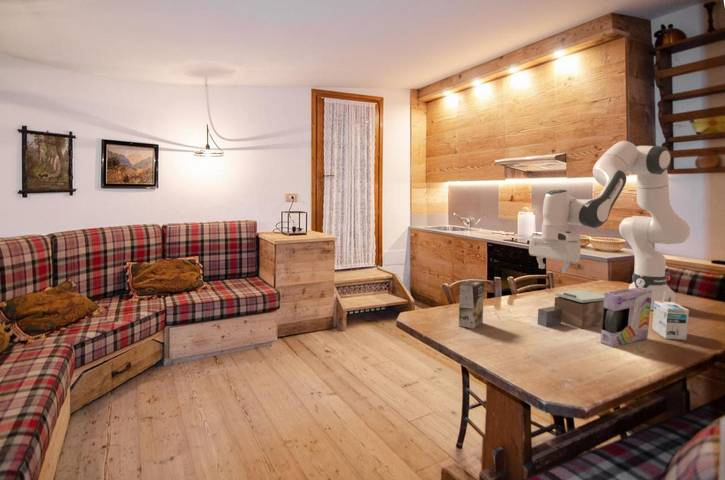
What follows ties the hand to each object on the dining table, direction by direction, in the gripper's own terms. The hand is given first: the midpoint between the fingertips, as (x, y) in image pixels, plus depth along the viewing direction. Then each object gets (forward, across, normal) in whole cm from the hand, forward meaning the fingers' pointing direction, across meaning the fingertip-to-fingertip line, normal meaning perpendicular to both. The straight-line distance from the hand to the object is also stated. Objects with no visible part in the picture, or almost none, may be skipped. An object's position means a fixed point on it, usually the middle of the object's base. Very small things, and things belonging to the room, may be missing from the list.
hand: (552, 270), depth 161 cm
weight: (+21, 0, 0) cm, 21 cm away
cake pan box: (+21, +24, +7) cm, 33 cm away
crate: (+21, +3, +14) cm, 25 cm away
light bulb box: (+21, +27, +28) cm, 44 cm away
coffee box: (+21, -13, -27) cm, 37 cm away
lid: (+11, +3, +14) cm, 18 cm away
